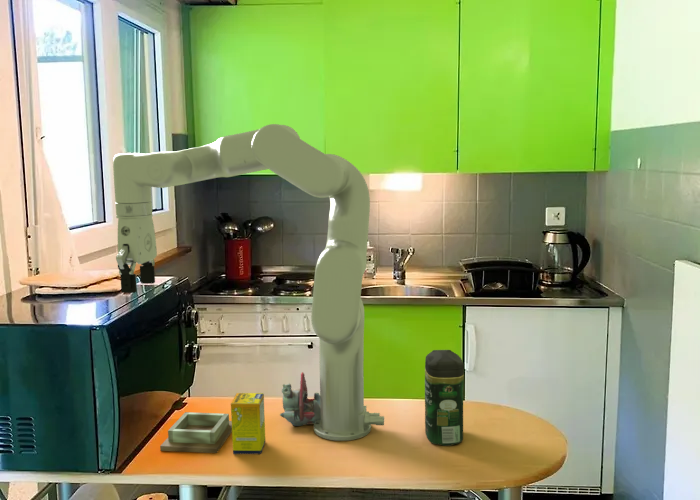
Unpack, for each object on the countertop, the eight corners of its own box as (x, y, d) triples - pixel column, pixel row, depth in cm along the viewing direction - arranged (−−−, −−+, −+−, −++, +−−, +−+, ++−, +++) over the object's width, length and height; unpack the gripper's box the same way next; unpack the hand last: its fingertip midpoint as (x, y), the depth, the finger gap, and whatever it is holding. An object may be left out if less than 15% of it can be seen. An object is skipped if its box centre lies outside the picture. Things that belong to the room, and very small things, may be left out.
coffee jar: (422, 428, 150) (422, 346, 148) (458, 427, 150) (459, 346, 148) (427, 447, 141) (428, 360, 138) (466, 447, 141) (467, 360, 138)
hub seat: (236, 425, 153) (235, 410, 153) (216, 453, 140) (216, 436, 139) (184, 423, 155) (184, 408, 154) (160, 450, 141) (159, 434, 140)
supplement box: (237, 441, 145) (235, 392, 143) (265, 442, 145) (264, 392, 143) (232, 454, 139) (230, 403, 137) (261, 454, 139) (259, 403, 137)
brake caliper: (332, 417, 149) (296, 376, 148) (294, 447, 151) (258, 407, 150) (335, 399, 161) (302, 361, 160) (299, 427, 162) (266, 390, 161)
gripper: (133, 214, 140) (138, 296, 142) (166, 206, 157) (170, 280, 159) (98, 214, 140) (104, 296, 143) (134, 206, 157) (139, 279, 160)
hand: (138, 287), depth 151 cm, fingers open, 9 cm apart
